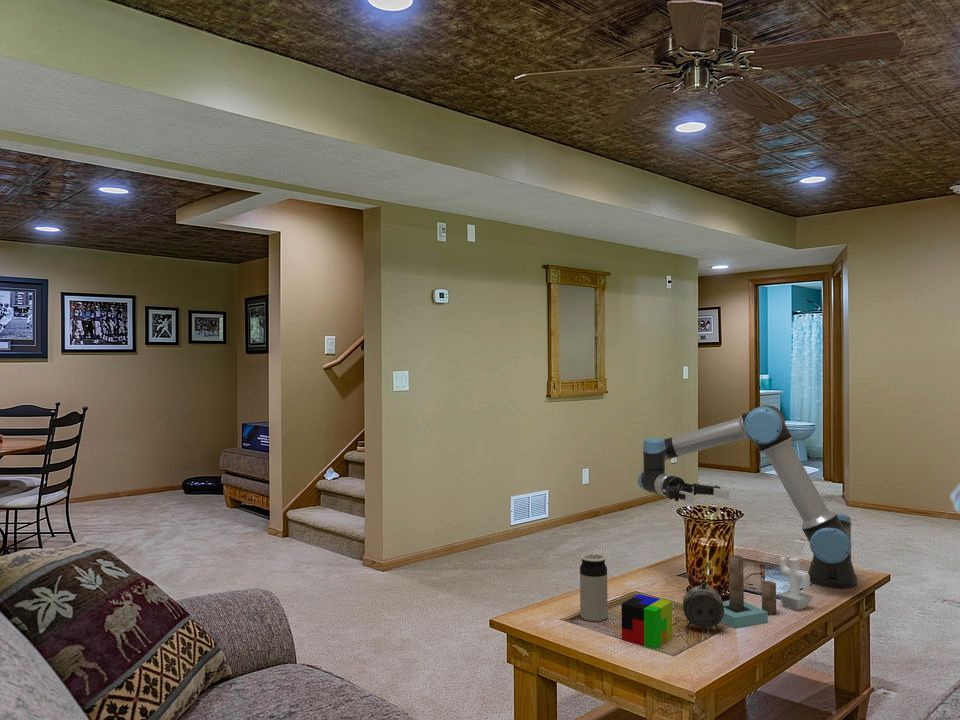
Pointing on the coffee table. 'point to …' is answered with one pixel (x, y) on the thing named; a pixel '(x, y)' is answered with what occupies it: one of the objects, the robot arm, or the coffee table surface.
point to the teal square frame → (744, 616)
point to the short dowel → (769, 597)
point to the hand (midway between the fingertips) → (710, 496)
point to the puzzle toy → (646, 621)
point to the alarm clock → (703, 606)
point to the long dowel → (736, 584)
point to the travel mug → (593, 588)
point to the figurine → (795, 584)
